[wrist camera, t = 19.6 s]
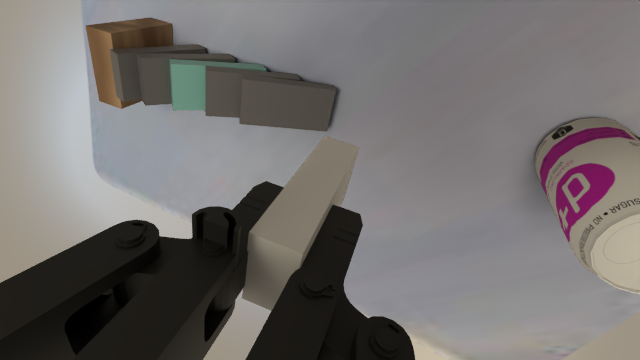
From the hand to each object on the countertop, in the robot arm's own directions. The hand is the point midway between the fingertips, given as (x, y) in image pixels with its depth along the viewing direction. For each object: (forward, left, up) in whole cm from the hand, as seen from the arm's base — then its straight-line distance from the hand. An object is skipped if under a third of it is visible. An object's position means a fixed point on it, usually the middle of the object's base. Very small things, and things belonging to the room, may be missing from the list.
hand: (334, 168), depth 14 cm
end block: (+29, +7, -24) cm, 38 cm away
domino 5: (+6, +7, -24) cm, 25 cm away
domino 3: (+15, +7, -24) cm, 29 cm away
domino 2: (+19, +7, -24) cm, 31 cm away
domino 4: (+10, +7, -24) cm, 27 cm away
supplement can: (-20, +4, -25) cm, 32 cm away
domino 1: (+23, +7, -24) cm, 34 cm away
